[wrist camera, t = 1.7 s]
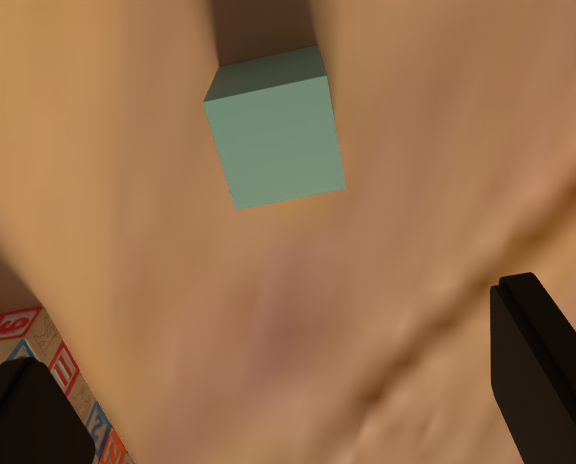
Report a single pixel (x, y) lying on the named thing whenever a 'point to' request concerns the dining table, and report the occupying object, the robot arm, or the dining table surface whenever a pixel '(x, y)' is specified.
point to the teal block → (275, 128)
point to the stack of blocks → (60, 375)
